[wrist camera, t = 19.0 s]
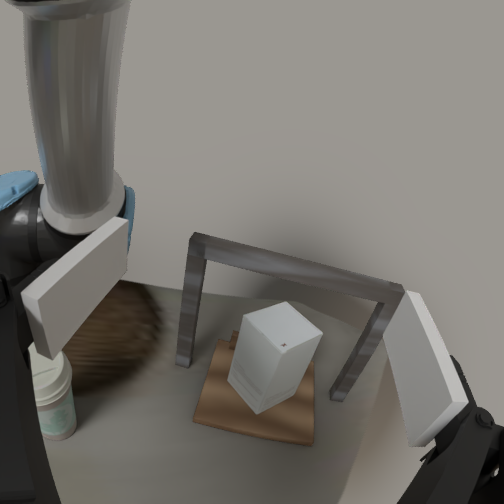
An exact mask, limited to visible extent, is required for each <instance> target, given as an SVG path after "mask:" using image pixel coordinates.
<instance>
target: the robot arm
mask: <svg viewBox="0 0 504 504" xmlns="http://www.w3.org/2000/svg"><path fill="white" fill-rule="evenodd" d="M5 1H6V2H7V3H9V4H11V5H12V6H14V7H16V8H17V9H19V10H21V11H22V12H23V18H24V19H23V20H24V50H25V63H26V64H25V65H26V76H27V85H28V93H29V101H30V108H31V115H32V121H33V127H34V133H35V138H36V143H37V148H38V153H39V157H40V162H41V167H42V171H43V175H44V179H45V184H39V183H38V182H39V178H38V176H37V174H36V173H35V172H33V171H32V172H31V171H26V170H23V171H15V172H11V173H6V174H3V175H0V504H61V501H60V498H59V495H58V492H57V489H56V486H55V483H54V480H53V476H52V473H51V469H50V466H49V462H48V458H47V454H46V450H45V446H44V441H43V437H42V432H41V428H40V422H39V417H38V412H37V406H36V400H35V393H34V386H33V378H32V369H31V359H30V352H29V349H28V348H29V346H30V345H31V344H32V343H33V342H34V345H35V348H36V351H37V353H38V354H40V355H42V356H44V357H46V358H48V359H50V360H52V361H53V360H54V358H55V357H56V356H57V355H58V353H59V352H60V351H61V349H62V348H63V347H64V346H65V344H66V343H67V342H68V340H69V339H70V338H71V337H72V335H73V334H74V333H75V332H76V330H77V329H78V328H79V327H80V326H81V324H82V323H83V322H84V321H85V319H86V318H87V317H88V316H89V315H90V313H91V312H92V311H93V310H94V309H95V307H96V306H97V305H98V304H99V303H100V301H101V300H102V299H103V298H104V297H105V296H106V294H107V293H108V292H109V291H110V290H111V289H112V287H113V286H114V285H115V284H116V283H117V282H118V280H119V279H120V278H121V277H122V276H123V275H124V274H125V272H126V271H127V254H128V251H129V246H130V240H131V236H130V235H131V231H132V227H133V219H134V209H135V193H134V190H133V189H132V188H130V187H127V186H125V185H123V181H122V179H121V177H120V176H119V174H118V173H117V172H116V171H115V170H114V168H113V167H114V138H115V119H116V105H117V94H118V83H119V74H120V65H121V57H122V50H123V43H124V37H125V30H126V24H127V18H128V13H129V8H130V3H131V0H5ZM383 338H384V342H385V345H386V349H387V353H388V356H389V360H390V364H391V368H392V371H393V375H394V380H395V383H396V387H397V392H398V396H399V401H400V404H401V409H402V413H403V418H404V422H405V428H406V433H407V438H408V443H409V447H425V446H426V445H427V444H428V443H429V442H430V441H432V440H433V439H434V438H435V442H436V446H435V447H434V448H432V449H431V450H430V451H429V452H428V453H427V454H426V455H425V456H423V457H422V458H421V459H420V461H421V462H422V461H423V460H424V459H426V460H425V461H424V463H423V465H422V466H421V468H420V469H419V471H418V473H417V474H416V476H415V477H414V479H413V480H412V482H411V484H410V485H409V487H408V488H407V490H406V491H405V493H404V494H403V495H402V497H401V498H400V500H399V501H398V502H397V504H504V427H503V426H500V425H496V424H495V422H494V419H493V417H492V416H491V414H490V413H489V412H488V411H487V410H485V409H483V408H481V407H477V405H476V402H475V400H474V398H473V395H472V392H471V390H470V388H469V385H468V383H466V378H465V376H464V375H463V372H462V369H461V367H460V364H459V363H458V362H457V361H456V360H455V358H454V357H453V356H451V355H449V353H448V351H447V349H446V347H445V345H444V342H443V340H442V338H441V336H440V334H439V332H438V330H437V327H436V326H435V323H434V321H433V319H432V317H431V315H430V313H429V311H428V309H427V307H426V305H425V303H424V301H423V300H422V298H421V296H420V294H419V293H415V292H411V291H407V290H406V292H405V294H404V296H403V298H402V300H401V302H400V304H399V306H398V308H397V309H396V311H395V313H394V315H393V317H392V319H391V321H390V323H389V324H388V326H387V328H386V330H385V332H384V333H383ZM498 468H499V471H498V474H497V475H496V476H494V472H495V470H496V469H498Z"/></svg>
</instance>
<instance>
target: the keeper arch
mask: <svg viewBox="0 0 504 504" xmlns="http://www.w3.org/2000/svg"><path fill="white" fill-rule="evenodd" d="M207 260H211V261H215V262H219V263H223V264H227V265H230V266H234V267H238V268H242V269H246V270H250V271H254V272H258V273H262V274H266V275H270V276H274V277H278V278H282V279H286V280H290V281H294V282H298V283H302V284H306V285H310V286H314V287H319V288H322V289H326V290H330V291H335V292H339V293H343V294H348V295H352V296H355V297H360V298H364V299H368V300H372V301H377V302H378V303H377V305H376V307H375V309H374V311H373V313H372V315H371V317H370V319H369V321H368V323H367V325H366V327H365V329H364V331H363V333H362V335H361V336H360V338H359V340H358V342H357V344H356V346H355V348H354V349H353V351H352V353H351V355H350V357H349V358H348V360H347V362H346V364H345V365H344V367H343V369H342V371H341V372H340V374H339V376H338V377H337V379H336V381H335V382H334V384H333V386H332V387H331V389H330V400H333V401H340V402H342V401H343V399H344V398H345V396H346V395H347V394H348V392H349V391H350V389H351V387H352V386H353V384H354V383H355V381H356V380H357V378H358V377H359V375H360V373H361V372H362V370H363V369H364V367H365V365H366V364H367V362H368V361H369V359H370V357H371V356H372V354H373V352H374V351H375V349H376V347H377V346H378V344H379V342H380V340H381V339H382V337H383V333H384V332H385V330H386V328H387V326H388V324H389V323H390V321H391V319H392V317H393V315H394V313H395V311H396V309H397V308H398V306H399V304H400V302H401V300H402V298H403V296H404V294H405V291H404V289H403V286H402V285H401V284H397V283H393V282H389V281H385V280H382V279H378V278H374V277H370V276H366V275H362V274H358V273H354V272H351V271H347V270H342V269H339V268H335V267H331V266H327V265H323V264H319V263H316V262H312V261H308V260H303V259H300V258H296V257H292V256H288V255H284V254H280V253H276V252H272V251H268V250H265V249H261V248H257V247H252V246H249V245H245V244H240V243H237V242H233V241H229V240H225V239H221V238H217V237H213V236H209V235H205V234H201V233H197V232H194V234H193V235H192V236H191V238H190V240H189V247H188V254H187V262H186V270H185V278H184V286H183V294H182V303H181V312H180V322H179V332H178V343H177V354H176V365H179V366H182V367H186V368H189V365H190V363H191V360H192V355H193V347H194V340H195V333H196V326H197V320H198V313H199V306H200V300H201V293H202V287H203V281H204V275H205V269H206V262H207ZM238 335H239V332H238V331H234V330H233V333H232V337H231V341H230V342H228V341H224V340H220V339H218V342H217V345H216V348H215V351H214V355H213V358H212V361H211V364H210V367H209V370H208V373H207V376H206V379H205V383H204V386H203V389H202V392H201V395H200V398H199V401H198V404H197V408H196V411H195V414H194V417H193V422H196V423H200V424H203V425H207V426H211V427H215V428H219V429H223V430H227V431H231V432H235V433H240V434H244V435H249V436H254V437H259V438H264V439H269V440H275V441H281V442H287V443H293V444H300V445H307V446H312V444H313V443H314V361H310V363H309V365H308V367H307V369H306V371H305V374H304V376H303V378H302V380H301V382H300V384H299V386H298V388H297V390H296V392H295V394H294V395H293V396H291V397H290V398H288V399H286V400H284V401H282V402H280V403H279V404H277V405H275V406H273V407H271V408H269V409H267V410H265V411H263V412H261V413H259V414H255V412H254V411H253V410H252V409H251V408H250V407H249V406H248V404H247V403H246V402H245V401H244V400H243V399H242V397H241V396H240V395H239V394H238V393H237V391H236V390H235V389H234V388H233V387H232V386H231V384H230V383H229V382H228V381H227V379H228V375H229V371H230V367H231V363H232V359H233V355H234V351H235V347H236V343H237V340H238Z"/></svg>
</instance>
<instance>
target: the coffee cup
mask: <svg viewBox="0 0 504 504" xmlns="http://www.w3.org/2000/svg"><path fill="white" fill-rule="evenodd" d="M28 349H29V352H30V359H31V369H32V378H33V386H34V393H35V400H36V406H37V412H38V417H39V422H40V428H41V432H42V435H43V436H44V437H46V438H48V439H51V440H56V441H58V440H64V439H66V438H68V437H70V436H71V435H72V434H73V433H74V431H75V429H76V426H77V419H76V413H75V407H74V401H73V394H72V387H71V380H72V368H71V365H70V362H69V360H68V358H67V357H66V355H65V354H64V352H63V351H62V350H61V351H60V352H59V353H58V355H57V356H56V357H55V358H54V360H53V361H52V360H50V359H48V358H46V357H44V356H42V355H40V354H38V353H37V351H36V348H35V345H34V342H33V343H32V344H31V345H30V346H29V348H28Z"/></svg>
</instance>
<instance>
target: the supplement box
mask: <svg viewBox="0 0 504 504" xmlns="http://www.w3.org/2000/svg"><path fill="white" fill-rule="evenodd" d="M322 334H323V332H321V331H320V330H319V329H318V328H317V327H315V326H314V325H313V324H312V323H311V322H309V321H308V320H307V319H306V318H305V317H304V316H302V315H301V314H300V313H299V312H298V311H297V310H295V309H294V308H293V307H292V306H291V305H290V304H289V303H287V302H283V303H279V304H276V305H273V306H270V307H267V308H264V309H261V310H258V311H254V312H251V313H247V314H244V315H243V319H242V323H241V327H240V331H239V335H238V340H237V343H236V347H235V351H234V355H233V359H232V363H231V367H230V371H229V375H228V379H227V381H228V382H229V383H230V384H231V386H232V387H233V388H234V389H235V390H236V391H237V393H238V394H239V395H240V396H241V397H242V399H243V400H244V401H245V402H246V403H247V404H248V406H249V407H250V408H251V409H252V410H253V411H254V412H255V414H259V413H261V412H263V411H265V410H267V409H269V408H271V407H273V406H275V405H277V404H279V403H280V402H282V401H284V400H286V399H288V398H290V397H291V396H293V395H294V394H295V392H296V390H297V388H298V386H299V384H300V382H301V380H302V378H303V376H304V374H305V371H306V369H307V367H308V365H309V363H310V361H311V359H312V357H313V354H314V352H315V350H316V348H317V346H318V343H319V341H320V339H321V337H322Z"/></svg>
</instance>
